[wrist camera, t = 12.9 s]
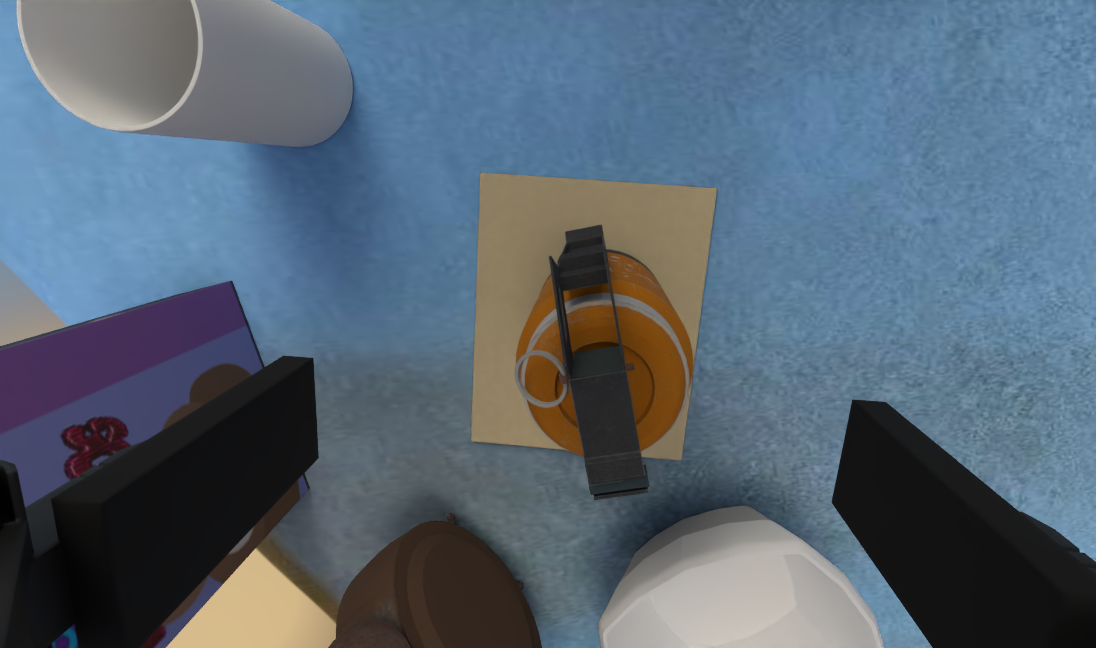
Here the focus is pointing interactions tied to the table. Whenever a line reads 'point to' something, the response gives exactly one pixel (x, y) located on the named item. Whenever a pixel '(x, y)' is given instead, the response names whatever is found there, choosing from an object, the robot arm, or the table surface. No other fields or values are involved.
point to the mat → (523, 263)
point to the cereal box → (127, 403)
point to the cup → (190, 68)
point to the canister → (604, 362)
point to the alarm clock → (435, 596)
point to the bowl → (734, 590)
